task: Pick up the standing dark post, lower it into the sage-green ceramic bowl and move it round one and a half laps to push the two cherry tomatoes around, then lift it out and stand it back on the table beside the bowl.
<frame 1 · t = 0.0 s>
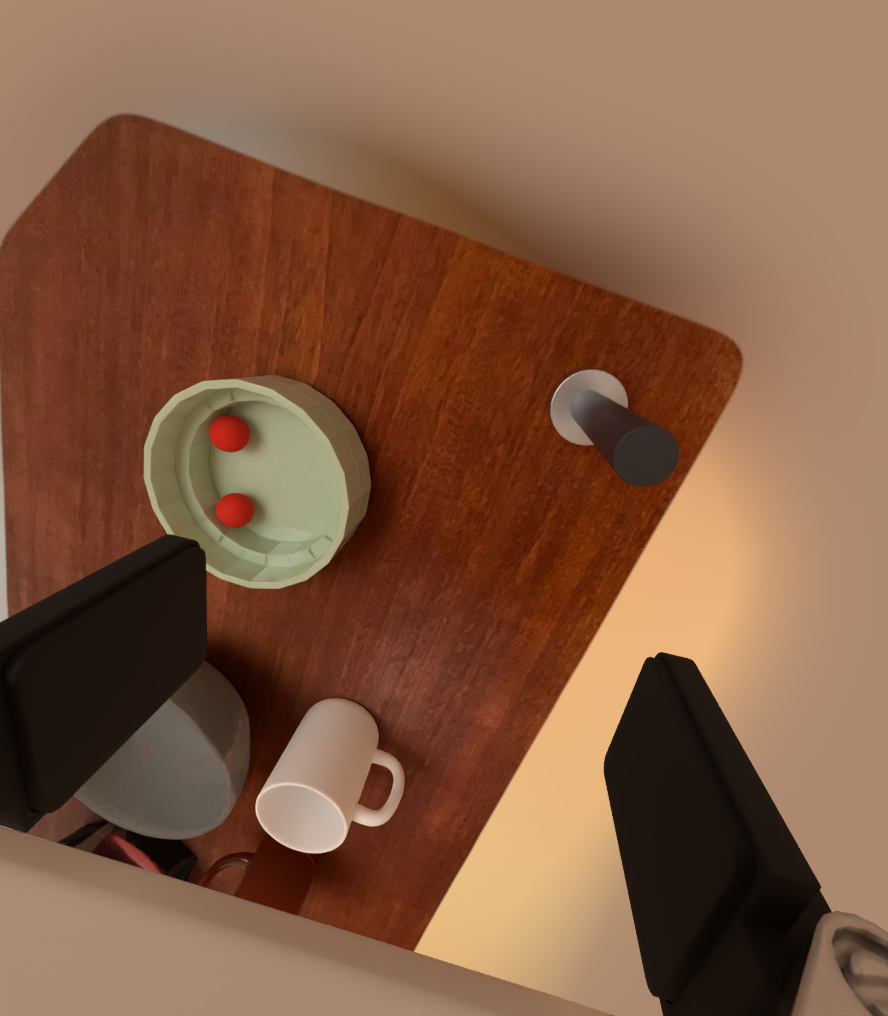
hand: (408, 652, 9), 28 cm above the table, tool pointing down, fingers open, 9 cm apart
bowl: (199, 688, 50), on the table
mug: (284, 834, 56), on the table
tomato b: (229, 433, 37), point 2 cm above the table, touching mixing bowl
mixing bowl: (282, 471, 39), on the table
tomato a: (235, 510, 39), point 2 cm above the table, touching mixing bowl
cup: (360, 730, 48), on the table
baking dish: (141, 840, 61), on the table
dark post: (583, 404, 34), on the table
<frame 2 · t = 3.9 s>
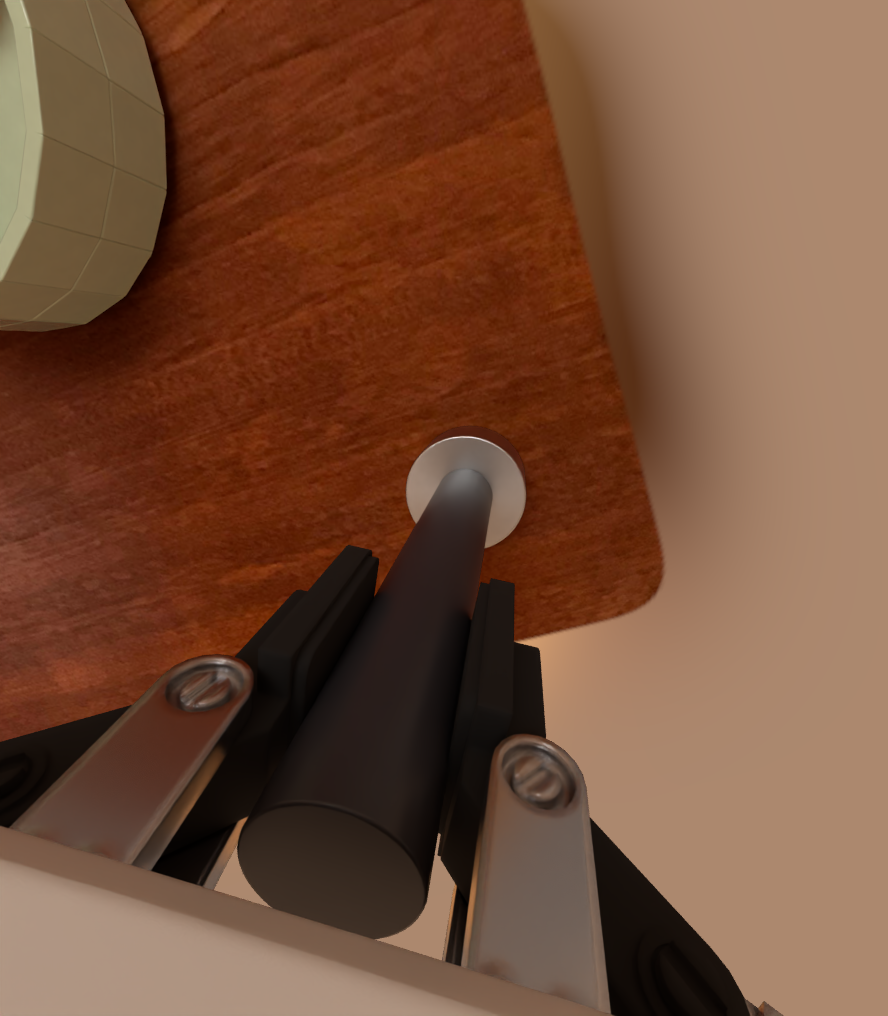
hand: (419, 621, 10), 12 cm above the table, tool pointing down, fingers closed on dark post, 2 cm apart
mixing bowl: (6, 131, 20), on the table
dark post: (470, 479, 22), on the table, touching gripper
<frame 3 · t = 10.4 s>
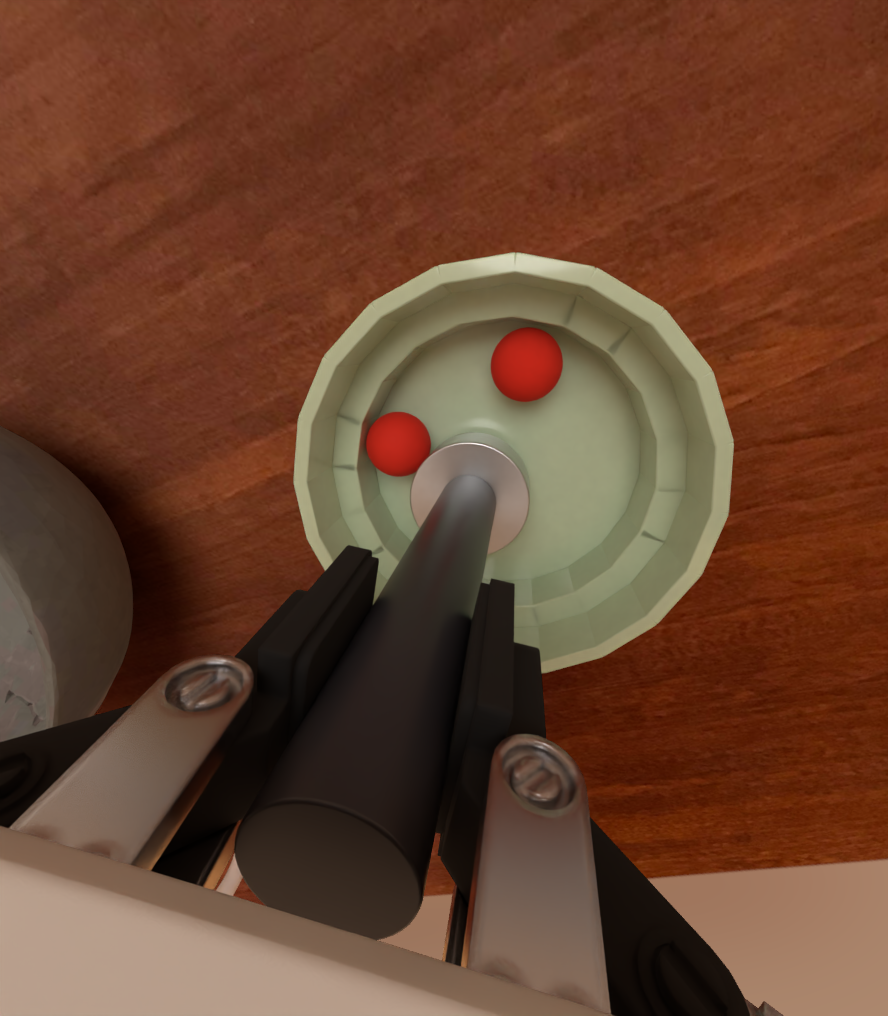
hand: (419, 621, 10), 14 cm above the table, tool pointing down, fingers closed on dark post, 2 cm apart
bowl: (59, 536, 29), on the table
tomato b: (526, 365, 19), point 2 cm above the table, touching mixing bowl
mixing bowl: (501, 460, 23), on the table
tomato a: (398, 444, 21), point 2 cm above the table, touching dark post, mixing bowl
cup: (232, 748, 33), on the table
dark post: (474, 485, 22), point 1 cm above the table, touching gripper, tomato a
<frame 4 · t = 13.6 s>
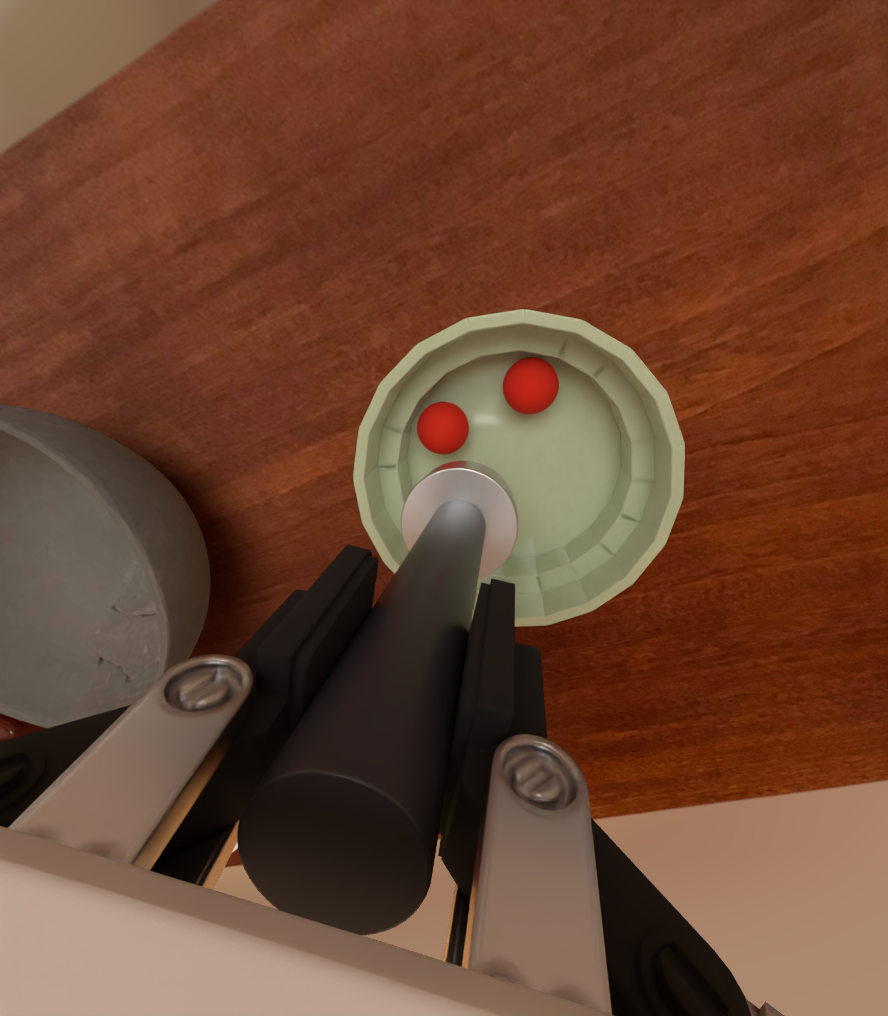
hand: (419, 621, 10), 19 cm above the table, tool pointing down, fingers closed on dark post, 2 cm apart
bowl: (136, 528, 34), on the table
mug: (69, 715, 42), on the table
tomato b: (530, 386, 25), point 2 cm above the table, touching mixing bowl
mixing bowl: (510, 460, 28), on the table
tomato a: (443, 428, 26), point 2 cm above the table, tilted 43°, touching mixing bowl
dark post: (463, 512, 22), point 7 cm above the table, tilted 6°, touching gripper
when the fingers open (12 cm above the table, at t = 19.8 s): dark post stays where it is, on the table.
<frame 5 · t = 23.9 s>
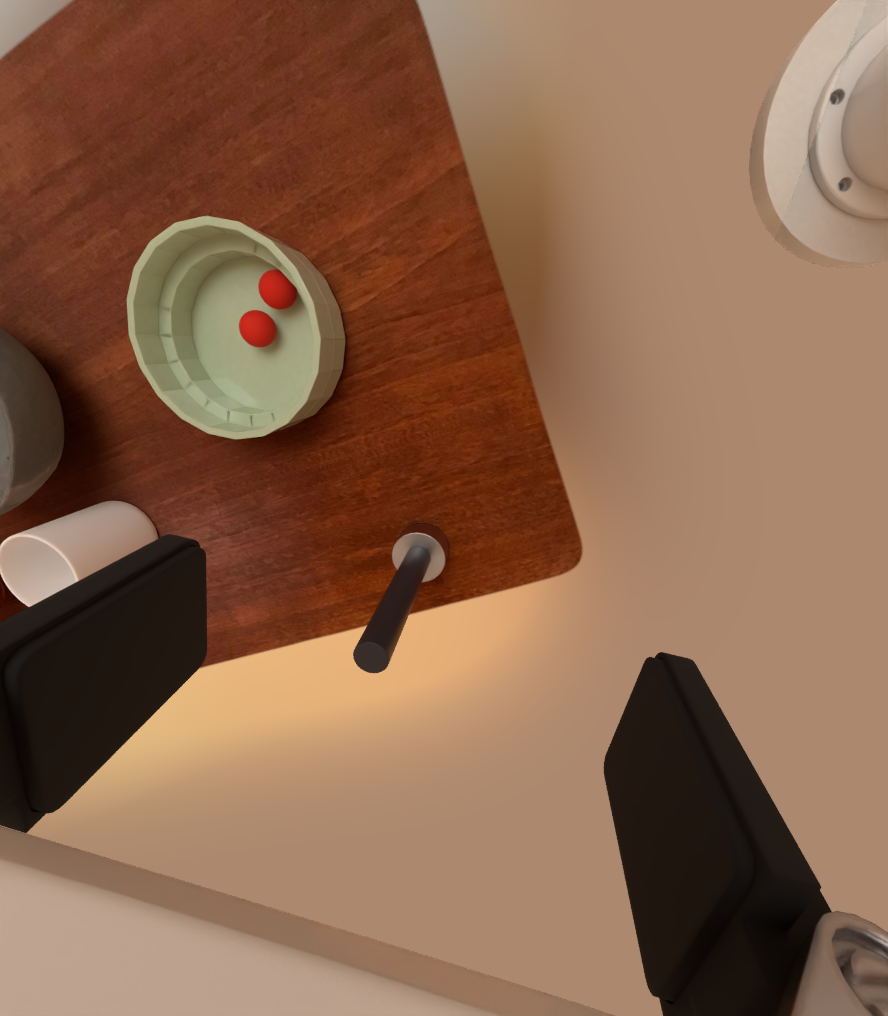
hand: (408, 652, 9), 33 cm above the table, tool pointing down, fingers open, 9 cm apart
bowl: (25, 402, 47), on the table
tomato b: (277, 289, 38), point 2 cm above the table, tilted 96°, touching mixing bowl
mixing bowl: (261, 337, 41), on the table
tomato a: (257, 328, 39), point 2 cm above the table, tilted 91°, touching mixing bowl
cup: (139, 546, 51), on the table
dark post: (423, 546, 46), on the table
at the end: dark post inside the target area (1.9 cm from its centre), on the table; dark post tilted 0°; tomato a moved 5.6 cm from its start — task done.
